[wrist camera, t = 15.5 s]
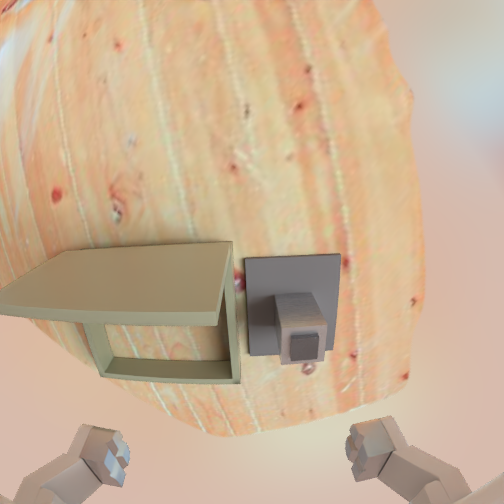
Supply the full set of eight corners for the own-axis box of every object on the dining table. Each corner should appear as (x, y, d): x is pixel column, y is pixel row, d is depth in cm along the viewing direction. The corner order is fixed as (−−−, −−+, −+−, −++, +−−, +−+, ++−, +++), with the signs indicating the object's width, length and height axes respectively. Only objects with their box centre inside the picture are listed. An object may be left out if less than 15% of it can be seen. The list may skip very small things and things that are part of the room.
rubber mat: (249, 353, 34) (250, 356, 33) (245, 257, 31) (245, 259, 30) (331, 347, 34) (332, 349, 34) (339, 253, 31) (341, 254, 30)
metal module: (274, 326, 32) (281, 368, 25) (274, 294, 31) (282, 331, 24) (310, 324, 32) (325, 364, 25) (311, 292, 31) (329, 328, 24)
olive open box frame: (110, 361, 34) (59, 451, 19) (80, 242, 30) (-19, 302, 14) (240, 365, 34) (238, 479, 19) (231, 233, 30) (215, 311, 14)
